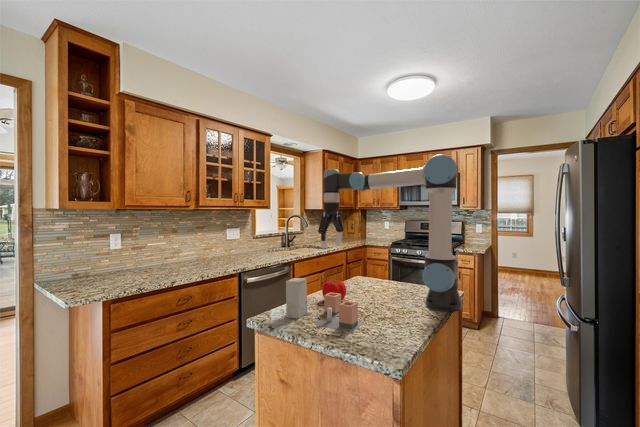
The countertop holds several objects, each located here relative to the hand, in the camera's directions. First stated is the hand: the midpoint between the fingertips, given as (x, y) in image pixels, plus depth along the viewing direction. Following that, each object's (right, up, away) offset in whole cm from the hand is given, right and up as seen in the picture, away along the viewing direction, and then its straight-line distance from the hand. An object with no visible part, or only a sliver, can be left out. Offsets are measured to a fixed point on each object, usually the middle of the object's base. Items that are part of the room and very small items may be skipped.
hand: (331, 246), depth 148 cm
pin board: (+1, -26, -32) cm, 41 cm away
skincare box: (-15, -26, -21) cm, 37 cm away
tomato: (+1, -26, -1) cm, 26 cm away
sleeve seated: (+5, -25, -34) cm, 43 cm away
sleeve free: (0, -26, -19) cm, 32 cm away
